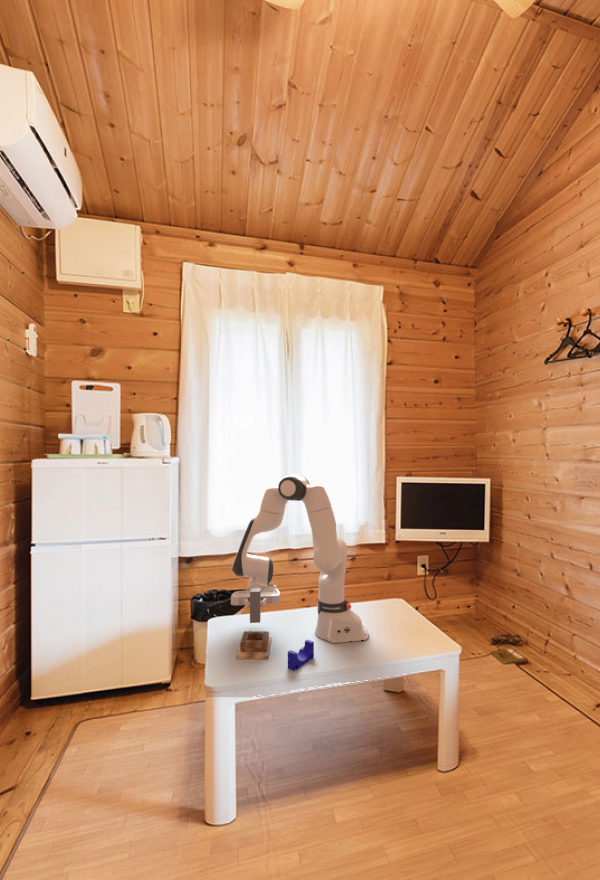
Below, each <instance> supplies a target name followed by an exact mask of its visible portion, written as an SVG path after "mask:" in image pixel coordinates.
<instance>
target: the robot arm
mask: <svg viewBox="0 0 600 880" xmlns="http://www.w3.org/2000/svg"><path fill="white" fill-rule="evenodd" d="M326 491H327V490H326V489H325V487H324V486H322V485H321V484H312V485H310V482H309V480H308V479H307V478H306V477H305V476H303V475H299V474H290V475H286V476H284V477H282V478H281V480H279V483H278V486H276V485H274V486H269V487H267V489H266V490H265V492H264V494H263V497H262V500H261V502H260V503H261V504H260V507H259V512H258V513H257V516H255V517H254V518H252V519H251V520H249V523H248V525H247V528H246V530H245V532H244V534H243V538H242V540H241V543H240V545H239V548H238V550H237V553H236V554H235V556H234V559H233V561H232V564H231V571H232V573H233V574H234V575H235V576H236V577H244V578H250V579H249V580H248V584H247V587H246V590H238V591H237V590H236V591H234V592H232V594H231V595H230V605H231V606H245V607H246V608H250V589H251V588H261V601H260V607H265V605H278V604H281V592H280V590H279V589H278V588H277V585H276V584H270V583H271V582H272V580H273V575H274V561H272V560H273V559H271V558H270V557H266V556H261V555H259V556H258V555H254V554H249V553H248V550H249V548H250V545H251V543H252V541H253V538H254V537H255V536H256V535H258V534H259V535H260V534H262V533H266V532H271V531H274V530H276V529H278V528H279V527H280V526H281V525H282V523H283V519H284V514H285V509H286V505H287V504H288V502H289V501H295V502H298V501H302V502H303V504H304V507H305V510H306V513H307V517H308V521H309V525H310V528H311V529H310V530H311V535H312V546H313V564H314V566H315V567H316V568H317V569H318V570H319V571H320V573H319V578H318V598H317V601H316V603H317V604H316V608H317V609H316V610H317V621H316V626H315V631H314V635H315V636H316V637H318V638H319V639H321V640H324V641H327V642H329V643H330V644H331V643H332V644H339V643H349V642H350V641H352V642H362V641H361V640H364V641H367V640H368V638H369V631H368V629H367V628H366V627H365V626H364V625H363V622H362V619H361V617H360V616H359V615H358V614H357V613H356V612H355V611H353V610H352V609H351V608H352V604H351V603H350V601H349V600H348V599H347V598H345V579H346V578H345V577H346V571H347V560H348V559H347V558H348V545H347V543H346V542H345V541H344V540H343V539H342V538H341V539H340V538H339V537H338V536H337V522H336V519H335V514H334V512H333V510H334V509H333V507H332V504H331V501H330V498H329V495H328V493H327V492H326ZM366 639H367V640H366ZM350 643H351V642H350Z"/></svg>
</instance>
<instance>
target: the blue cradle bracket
mask: <svg viewBox="0 0 600 880" xmlns="http://www.w3.org/2000/svg"><path fill="white" fill-rule="evenodd" d="M314 644H315V642H314V641H313V640H310V639H306V640H304V646H302V647H301V648H299V650H298V652H297V651H293V650H291V649H289V650H288V651H287V669H288V670H291V671H293V672H295V671H297V670H298V669H299V668H301V667H302V666H304V665H306V664H307V663H308V662H309V661H311V660H313V659H314V657H315V656H314V655H315V652H314V651H315V648H314V647H315V646H314Z"/></svg>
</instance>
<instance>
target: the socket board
mask: <svg viewBox="0 0 600 880" xmlns="http://www.w3.org/2000/svg"><path fill="white" fill-rule="evenodd" d="M272 640H273V637H272V636H270V632H269V631H264V630H263V631H255V630H253V631H251V630H249V631H247V630H246V631H243V633H242V636H241V640H240V642H239V646H238V650H237V653H236V656H235V657H236V660H237V659H240V660H241V659H244V660H245V659H250V660H251V659H252V660H255V659H257V660H258V659H260V660H262V659H263V660H264V659H265V660H266V659H267V660H269V658H270V654H271V653H270V651H271V647H272V646H271V645H272Z"/></svg>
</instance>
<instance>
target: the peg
mask: <svg viewBox="0 0 600 880" xmlns="http://www.w3.org/2000/svg"><path fill="white" fill-rule="evenodd" d="M260 601H261V588H251V589H250V607H249V623H250V624H254V623H255V624H258V623H261V607H260Z"/></svg>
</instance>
